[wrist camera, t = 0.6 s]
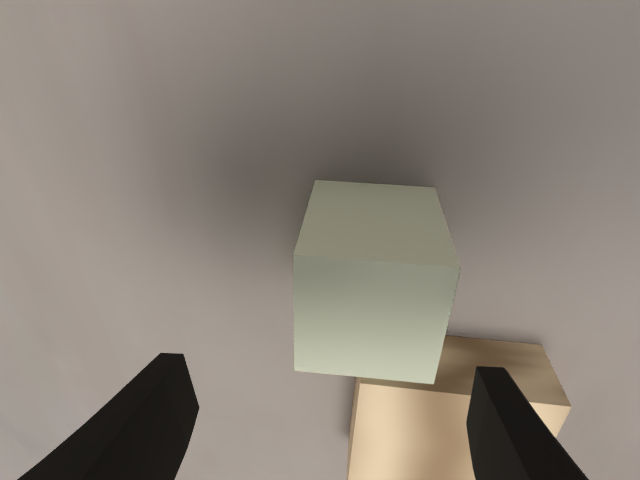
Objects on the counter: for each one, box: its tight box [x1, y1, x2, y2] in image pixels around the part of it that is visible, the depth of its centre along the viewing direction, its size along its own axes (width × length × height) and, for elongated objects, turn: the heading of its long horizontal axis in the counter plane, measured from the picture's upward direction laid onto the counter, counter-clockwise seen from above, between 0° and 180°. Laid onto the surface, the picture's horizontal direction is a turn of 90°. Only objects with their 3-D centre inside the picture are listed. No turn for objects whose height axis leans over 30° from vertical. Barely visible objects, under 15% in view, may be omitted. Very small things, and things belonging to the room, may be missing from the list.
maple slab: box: [347, 335, 571, 480], centre depth 22 cm, size 9×9×4 cm
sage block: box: [293, 180, 461, 384], centre depth 16 cm, size 5×5×6 cm
